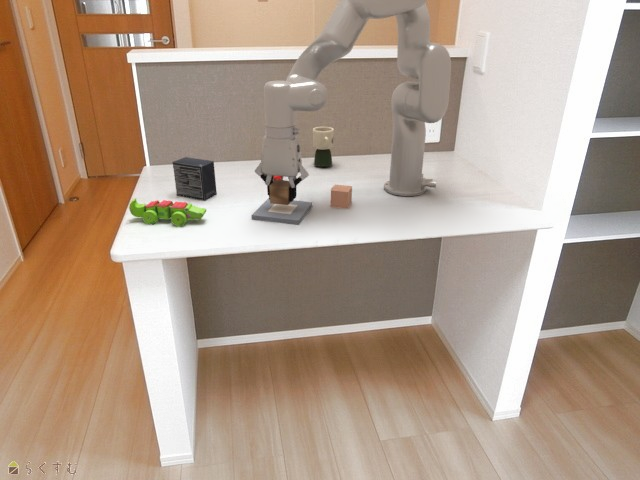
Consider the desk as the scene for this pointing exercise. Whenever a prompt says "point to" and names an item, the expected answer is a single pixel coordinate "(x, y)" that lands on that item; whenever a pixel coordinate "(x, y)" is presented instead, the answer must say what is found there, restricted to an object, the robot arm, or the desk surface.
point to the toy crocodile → (166, 211)
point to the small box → (195, 178)
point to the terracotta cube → (341, 196)
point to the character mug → (323, 145)
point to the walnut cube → (279, 192)
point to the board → (282, 212)
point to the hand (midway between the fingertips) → (282, 198)
